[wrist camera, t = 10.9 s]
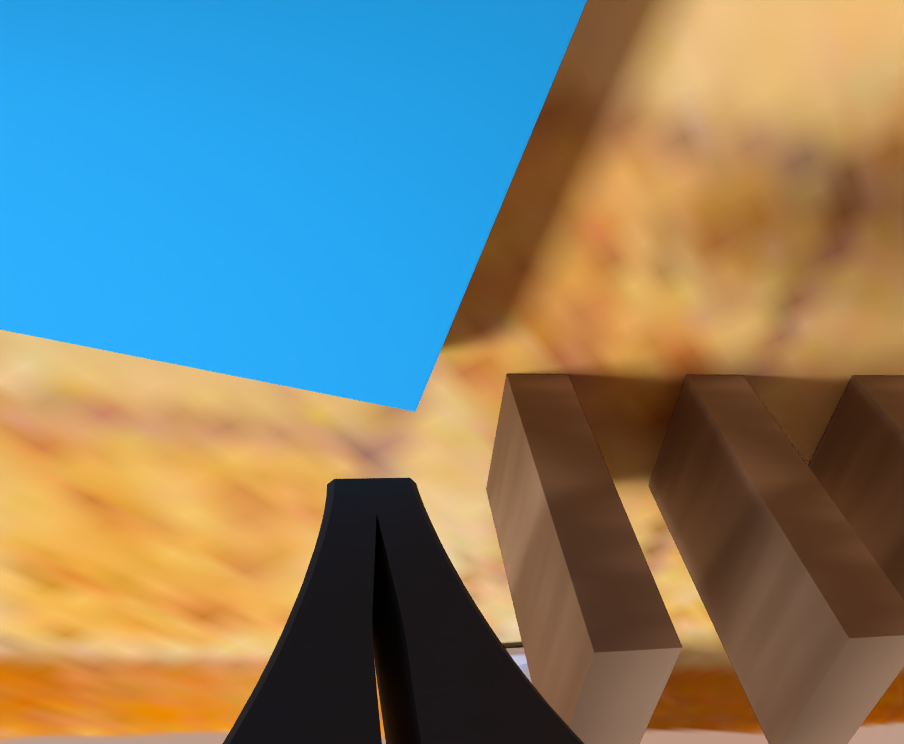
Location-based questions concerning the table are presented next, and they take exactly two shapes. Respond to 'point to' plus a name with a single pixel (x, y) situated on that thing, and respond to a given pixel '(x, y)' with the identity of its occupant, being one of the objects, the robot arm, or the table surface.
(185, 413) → the table surface
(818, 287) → the table surface
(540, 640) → the domino
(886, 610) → the domino
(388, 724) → the robot arm
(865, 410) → the domino
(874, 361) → the table surface
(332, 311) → the book
